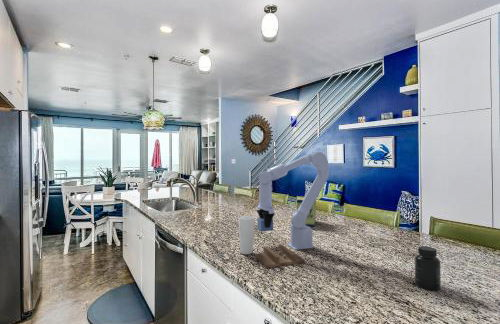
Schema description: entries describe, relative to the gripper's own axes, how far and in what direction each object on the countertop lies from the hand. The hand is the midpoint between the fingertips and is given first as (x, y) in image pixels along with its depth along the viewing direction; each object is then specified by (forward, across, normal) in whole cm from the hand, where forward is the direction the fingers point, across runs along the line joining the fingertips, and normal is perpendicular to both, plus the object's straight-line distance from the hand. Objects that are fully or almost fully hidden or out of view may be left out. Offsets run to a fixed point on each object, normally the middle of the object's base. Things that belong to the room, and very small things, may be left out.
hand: (265, 226), depth 125 cm
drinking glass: (+9, +8, -12) cm, 17 cm away
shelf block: (+2, 0, 0) cm, 2 cm away
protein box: (+9, -28, +39) cm, 49 cm away
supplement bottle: (+9, +54, +33) cm, 64 cm away
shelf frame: (+8, +19, -2) cm, 21 cm away
